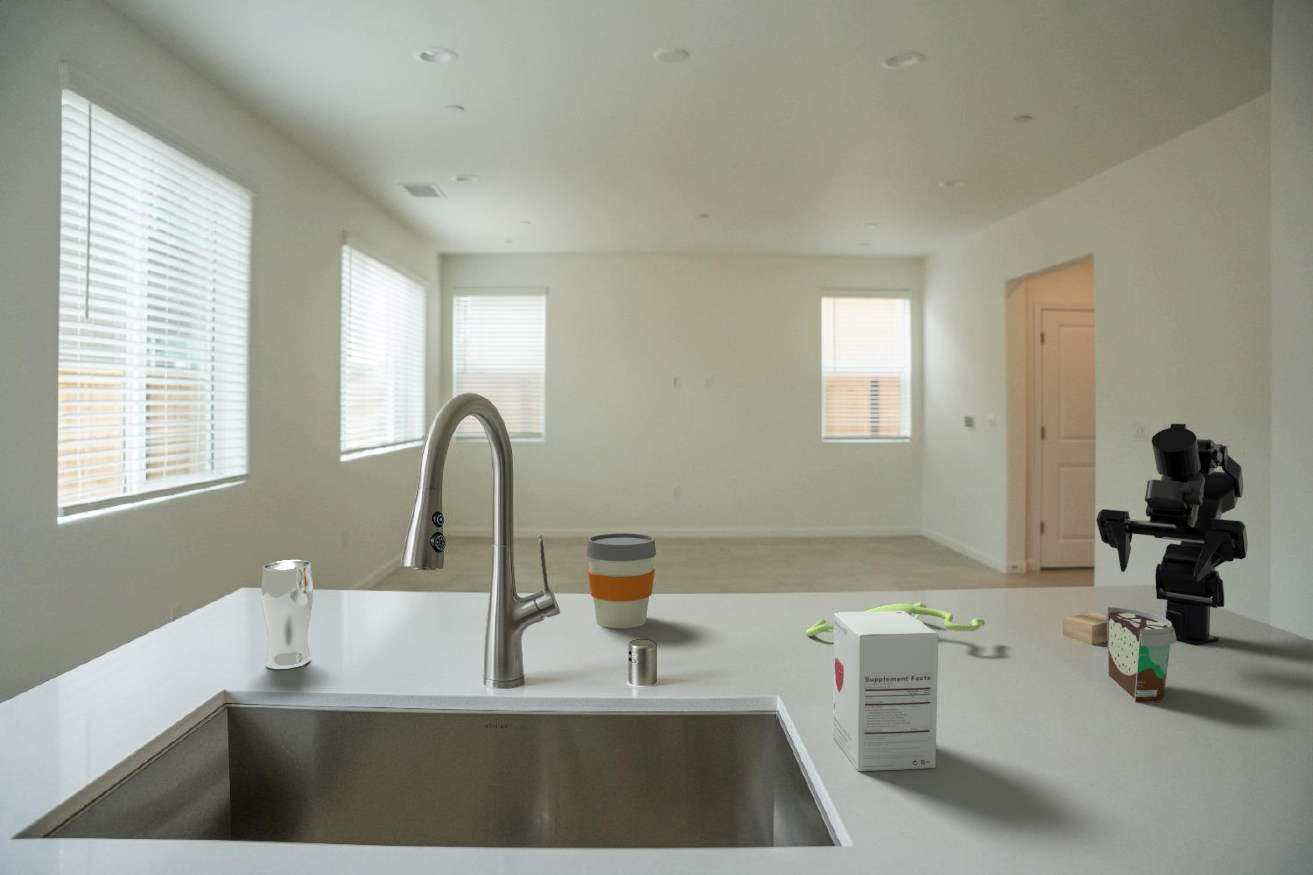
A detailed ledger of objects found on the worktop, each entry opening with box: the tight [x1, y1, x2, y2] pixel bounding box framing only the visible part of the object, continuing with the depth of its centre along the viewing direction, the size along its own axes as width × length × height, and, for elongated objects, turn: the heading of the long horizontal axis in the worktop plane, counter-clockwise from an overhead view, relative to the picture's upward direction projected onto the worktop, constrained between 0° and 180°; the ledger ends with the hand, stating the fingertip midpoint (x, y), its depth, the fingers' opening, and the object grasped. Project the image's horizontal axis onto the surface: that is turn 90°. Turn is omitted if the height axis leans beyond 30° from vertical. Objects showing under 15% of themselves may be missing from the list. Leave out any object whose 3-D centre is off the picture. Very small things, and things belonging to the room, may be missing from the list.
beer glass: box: [260, 559, 314, 666], centre depth 114 cm, size 7×7×15 cm
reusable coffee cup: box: [586, 532, 657, 629], centre depth 137 cm, size 13×13×15 cm
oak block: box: [1062, 612, 1108, 646], centre depth 129 cm, size 8×5×4 cm, turn 118°
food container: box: [1105, 606, 1178, 703], centre depth 104 cm, size 12×6×10 cm, turn 168°
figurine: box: [805, 601, 986, 637], centre depth 127 cm, size 18×27×6 cm
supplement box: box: [832, 611, 939, 772], centre depth 85 cm, size 9×9×15 cm
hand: (1157, 574), depth 112 cm, fingers open, 9 cm apart
